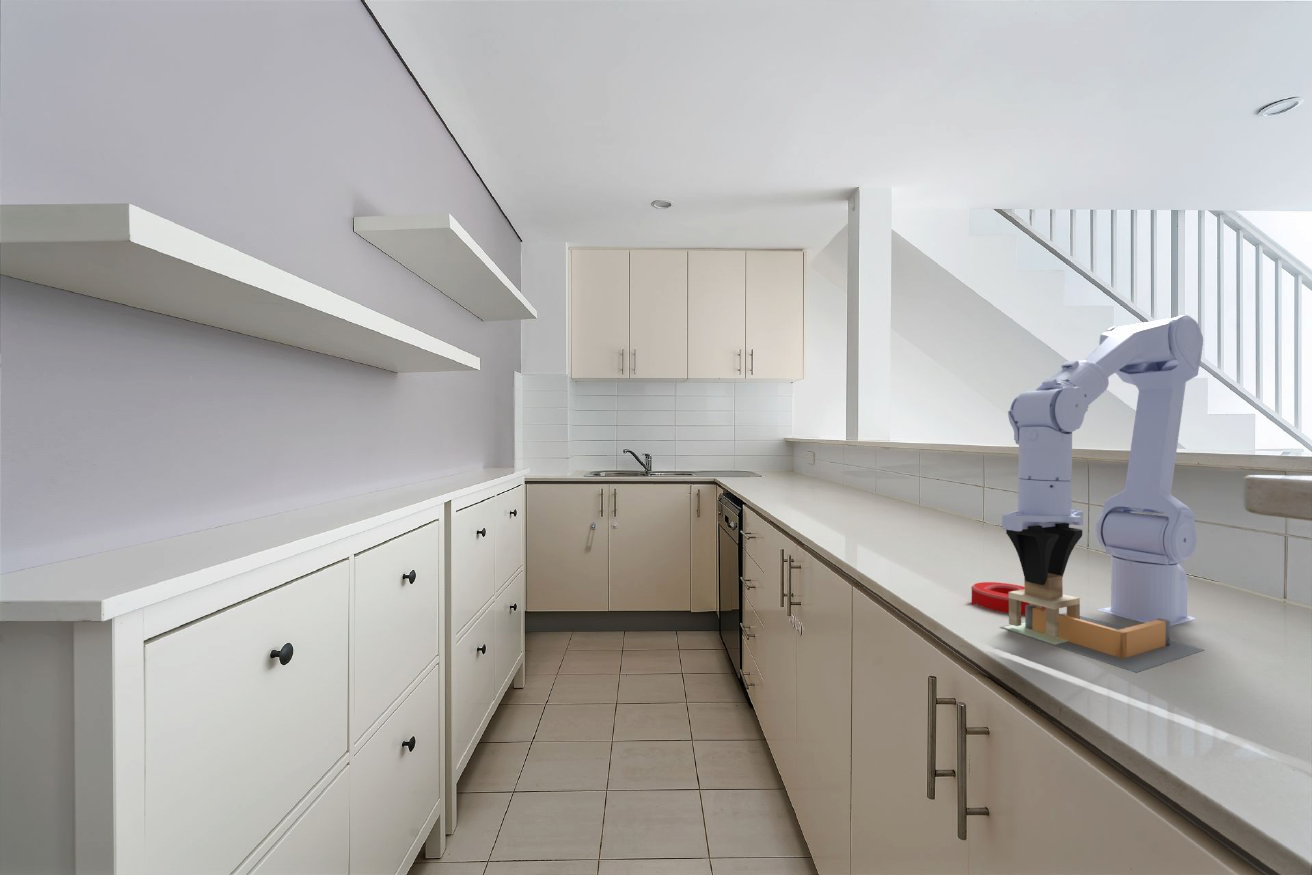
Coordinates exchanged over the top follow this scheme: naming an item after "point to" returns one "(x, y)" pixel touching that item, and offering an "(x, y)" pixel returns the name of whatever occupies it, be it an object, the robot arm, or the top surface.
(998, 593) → the decorative ornament
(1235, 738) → the top surface
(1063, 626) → the rail
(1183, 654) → the mat
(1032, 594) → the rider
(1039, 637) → the end pad
